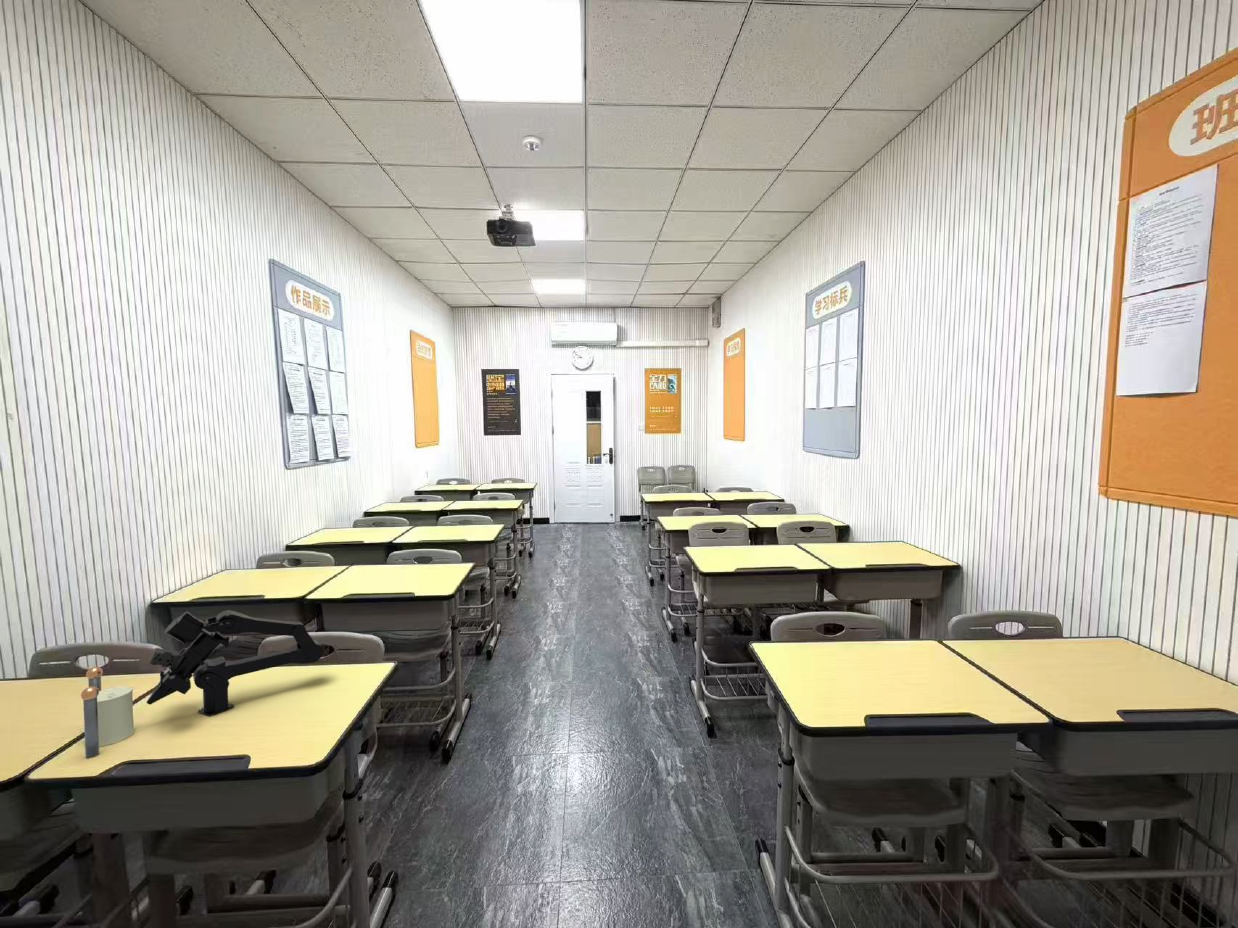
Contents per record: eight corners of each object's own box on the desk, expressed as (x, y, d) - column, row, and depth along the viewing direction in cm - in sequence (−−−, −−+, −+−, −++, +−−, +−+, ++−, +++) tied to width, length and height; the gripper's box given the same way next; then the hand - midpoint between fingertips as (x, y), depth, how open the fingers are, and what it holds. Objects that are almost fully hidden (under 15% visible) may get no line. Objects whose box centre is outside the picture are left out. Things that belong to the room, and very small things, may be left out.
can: (92, 751, 134) (90, 703, 134) (80, 741, 139) (78, 694, 139) (140, 734, 142) (138, 688, 142) (127, 725, 147) (125, 681, 146)
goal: (101, 755, 132) (98, 687, 132) (82, 760, 130) (80, 691, 129) (105, 725, 147) (102, 663, 147) (88, 729, 145) (86, 667, 145)
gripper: (169, 628, 155) (119, 678, 148) (172, 645, 141) (117, 700, 134) (205, 648, 161) (158, 697, 154) (211, 666, 147) (160, 721, 140)
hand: (148, 703), depth 145 cm, fingers closed
